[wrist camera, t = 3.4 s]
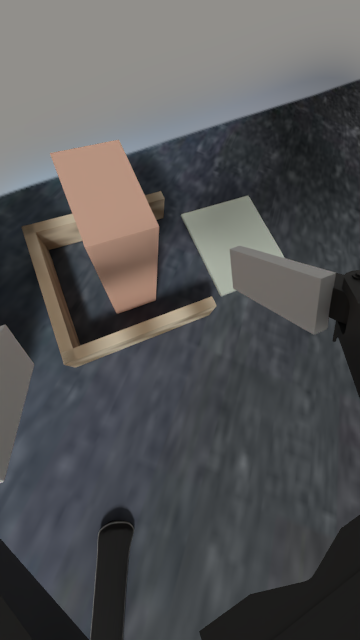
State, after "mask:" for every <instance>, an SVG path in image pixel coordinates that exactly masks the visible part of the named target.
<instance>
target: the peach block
mask: <svg viewBox="0 0 360 640" xmlns="http://www.w3.org/2000/svg"><path fill="white" fill-rule="evenodd" d="M50 154H51V157H52V160H53V163H54V165H55V168H56V171H57V174H58V176H59V179H60V182H61V184H62V187H63V190H64V192H65V195H66V198H67V200H68V203H69V206H70V208H71V211H72V214H73V216H74V219H75V222H76V225H77V227H78V230H79V233H80V235H81V238H82V241H83V243H84V246H85V249H86V251H87V253H88V255H89V257H90V259H91V261H92V263H93V265H94V267H95V269H96V271H97V274H98V276H99V278H100V280H101V282H102V284H103V286H104V288H105V290H106V292H107V294H108V297H109V299H110V301H111V303H112V305H113V307H114V309H115V311H116V313H117V314H119V313H122V312H125V311H128V310H131V309H133V308H136V307H139V306H142V305H145V304H147V303H150V302H153V301H156V286H157V264H158V241H159V225H158V223H157V221H156V219H155V216H154V214H153V212H152V210H151V208H150V206H149V204H148V201H147V199H146V197H145V195H144V193H143V191H142V188H141V186H140V184H139V182H138V180H137V178H136V176H135V173H134V171H133V169H132V167H131V165H130V163H129V160H128V158H127V156H126V154H125V152H124V150H123V148H122V145H121V143H120V141H119V140H115V141H110V142H105V143H100V144H95V145H90V146H84V147H80V148H74V149H69V150H64V151H59V152H54V153H50Z"/></svg>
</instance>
